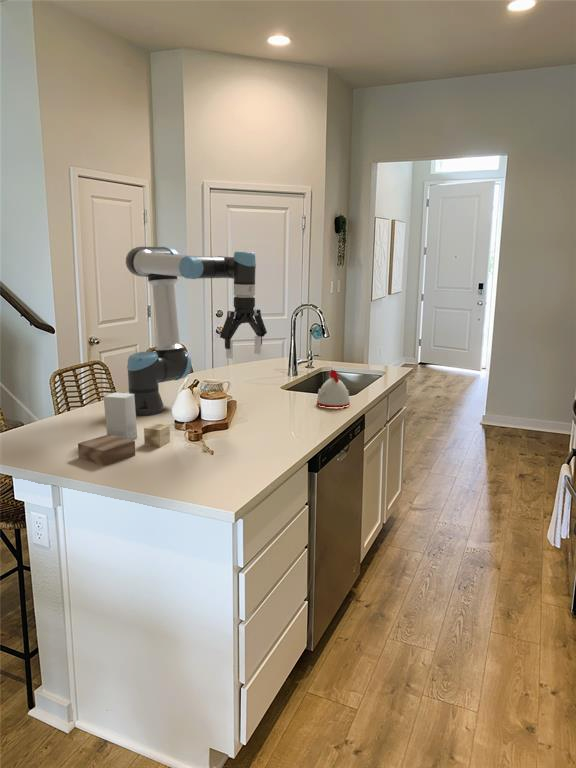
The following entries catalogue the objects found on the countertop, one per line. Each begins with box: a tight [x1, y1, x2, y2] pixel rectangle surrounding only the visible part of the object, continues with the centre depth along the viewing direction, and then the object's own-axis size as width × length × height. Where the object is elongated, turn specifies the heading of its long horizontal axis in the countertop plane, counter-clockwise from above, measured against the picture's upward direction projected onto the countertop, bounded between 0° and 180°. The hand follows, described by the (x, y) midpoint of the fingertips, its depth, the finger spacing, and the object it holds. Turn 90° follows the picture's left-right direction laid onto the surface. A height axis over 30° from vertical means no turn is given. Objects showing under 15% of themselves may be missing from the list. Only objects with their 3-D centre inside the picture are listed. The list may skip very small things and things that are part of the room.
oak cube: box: [143, 422, 171, 448], centre depth 195 cm, size 6×6×6 cm
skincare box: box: [103, 392, 138, 441], centre depth 197 cm, size 8×7×16 cm
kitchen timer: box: [316, 369, 350, 407], centre depth 249 cm, size 14×14×15 cm
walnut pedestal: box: [77, 434, 136, 467], centre depth 182 cm, size 12×12×5 cm
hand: (243, 356), depth 211 cm, fingers open, 13 cm apart
